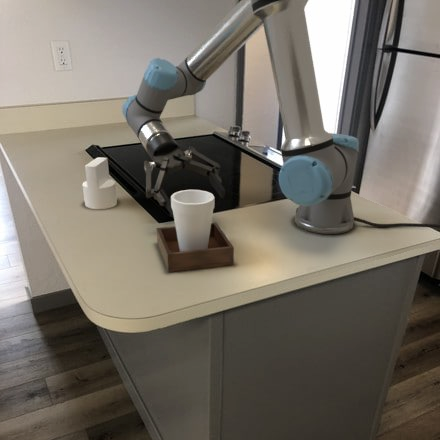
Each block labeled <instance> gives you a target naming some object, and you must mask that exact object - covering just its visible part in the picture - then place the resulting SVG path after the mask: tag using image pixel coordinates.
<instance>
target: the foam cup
mask: <svg viewBox="0 0 440 440" xmlns="http://www.w3.org/2000/svg"><path fill="white" fill-rule="evenodd" d="M215 198H216V197H215V196H214V194H213V193H212V192H209V191H207V190H201V189H185V190H179V191H176V192H174V193H172V194H171V195H170V201H171V208H172V210H173V215H174V216H173V219H174V226H175V227H176V233H177V238H178V244H179V249H180V252H181V251H191V250H200V249H208V243H209V236H210V229H211V223H213V215H214V209H215V201H216V200H215Z"/></svg>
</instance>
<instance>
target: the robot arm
mask: <svg viewBox="0 0 440 440" xmlns="http://www.w3.org/2000/svg"><path fill="white" fill-rule="evenodd" d="M308 2H309V0H240V1H239V2H238V3H237V4H236V5H235V6H234V7H233V8H232V9H231V10H230V11H229V12H228V13H227V14H226V15H225V16H224V18H222V20H221V21H220V22H219V23H218V24H217V25H216V26H215V27H214V28H213V29H212V30H211V31H210V32H209V33H208V34H207V35H206V36H205V37H204V39H203V40H202V41H200V43H198V45H196V47H195V48H194V49H193V50H192V51H191V52H190V53H189V54H188V55H187V57H186V58H184V59H183V60H182V62H180V63H179V64H178V65H175V64H173V63H172V62H170V61H168V60H167V59H165V58H163V59H162V58H160V57H156V58H153V59H151V60H150V61H149V64H148V65H147V68H146V69H145V71H144V74H143V77H142V79H141V82H140V85H139V87H138V90H137V93H136V94H133V95H131V96H129V97H128V98H127V100H126V101H124V103H123V104H122V115H123V117H124V118H125V120H126V123H127V125H128V126H129V127H130V128H131V130H132V132H134V134H135V136H136V137H137V139H138V140H139V142H140V143H141V145H142V147H143V148H144V149H145V151H146V152H147V155H148V156H149V158H150V159H151V161H148V160H144V161H143V171H144V173H145V197H146V198H147V199H151V198H152V197H153V199H154V200H156V201H157V202H158V203H159V206H161V207H165V208H166V210H167V212H168V213H169V214H170V216H171V218H174V215H173V210H172V208H171V198H169V196H168V195H167V193H166V191H165V190H164V189H163V185H164V182H165V179H166V177H167V174H170V175H172V174H174V173H175V172H180V171H183V170H184V171H185V172H187V171H190V172H193V173H195V174H199V175H201V176H205V177H207V178H208V182H209V183H210V184H211V186H212V187H213V188H214V190H215V191H216V193H217V195H218V196H219V197H220V199H224V198H225V196H226V189H225V187H224V186H223V184H222V178H221V177H220V175H219V174H220V170H221V164H219V163H218V162H216V161H214V160H213V159H211V158H210V157H207V156H206V155H205V154H202V153H201V152H199V151H197V150H196V149H195V148H194V146H192V145H189V146H188V149H187V150H185V151H183V150H182V149H181V148H180V146H179V145H178V142H177V141H176V140H175V138H174V137H173V136H172V135H171V133H170V131H169V129H167V127H166V126H165V125H164V123H163V121H162V119H161V115H162V113H163V112H164V110H165V107H166V106H167V103H168V101H170V100H175V99H178V98H183V97H187V96H194V95H196V94H197V93H201V91H203V90H204V89H205V86H206V85H207V84H206V83H207V80H209V78H211V77H212V76H213V75H214V74H215V73H216V72H217V71H218V70H219V69H220V68H221V67H222V66H223V65H225V63H227V62H228V60H230V59H231V58H232V56H234V55H235V54H236V53H237V52H238V51H240V50H241V48H242V47H243V46H244V45H245V44H247V43H248V41H250V40H251V38H253V37H254V36H255V35H256V34H257V33H258V32H259V31H260V30H261V29H262V28H263V30H264V36H265V40H266V45H267V50H268V55H269V62H270V66H271V71H272V77H273V81H274V87H275V91H276V97H277V102H278V107H279V112H280V117H281V123H282V128H283V133H284V138H285V140H284V142H283V144H282V145H281V146H280V153H281V158H282V163H283V164H282V166H281V168H280V170H279V173H278V185H279V188H280V190H281V192H282V194H283V195H284V196H285V198H287V199H288V200H289V201H291V202H292V203H293V204H296V205H298V207H297V208H296V210H295V217H294V223H295V224H296V225H297V226H298V227H299V228H300V229H303V230H305V231H307V232H310V233H313V234H314V233H315V234H321V235H339V234H345V233H347V232H350V231H351V230H353V228H354V224H355V222H358V223H362V224H365V225H368V226H370V227H375V228H401V227H402V228H404V227H405V228H406V227H407V228H435V229H437V228H438V229H440V224H438V223H414V222H413V223H409V222H408V223H407V222H400V223H399V222H398V223H375V222H372V221H369V220H366V219H363V218H359V217H355V216H354V215H355V214H354V210H353V204H352V198H351V196H352V192H353V191H352V190H353V185H354V178H355V172H356V168H357V167H356V166H357V160H358V154H359V152H360V150H359V145H360V142H359V139H358V138H357V137H355V136H352V135H347V134H342V133H341V134H340V133H331V132H328V131H326V130H325V126H324V121H323V113H322V108H321V102H320V101H321V100H320V96H319V89H318V85H317V78H316V72H315V66H314V60H313V53H312V47H311V41H310V36H309V30H308V29H309V28H308V23H307V18H306V12H305V11H306V10H305V8H306V6H307V4H308ZM154 168H155V169H157V170H159V173H158V176H157V177H156V181H155V184H154V187H153V188H152V173H153V171H154Z"/></svg>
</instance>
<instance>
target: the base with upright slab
mask: <svg viewBox="0 0 440 440" xmlns="http://www.w3.org/2000/svg"><path fill="white" fill-rule="evenodd" d="M109 169H110V168H109V161H108V157H98V156H97V157H96V158H94V159H93V160H91V161H90V162H88V163H87V164H85V165H84V170H85V178H86V180H85V181H83V182H82V192H83V199H84V206H85V207H86V208H88V209H91V210H106V209H110V208H113V207H115V206H117V204H118V199H117V198H118V197H117V191H116V190H117V188H116V181H115V180H114V179H112V178H110V171H109Z"/></svg>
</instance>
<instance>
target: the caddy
mask: <svg viewBox="0 0 440 440" xmlns="http://www.w3.org/2000/svg"><path fill="white" fill-rule="evenodd" d="M156 243H157V247H158V250H159V253H160V254H161V257H162V259H163V262H164V265H165V267H166V270H167V273H174V272H184V271H192V270H200V269H202V270H203V269H210V268H217V267H226V266H233V265H234V255H235V253H234V252H235V251H234V250H235V248H234V246H233V244H232V243H231V242H230V240H229V239H228V237H227V236H226V234H225V233H224V231H223V230H222V228H221V227H220V225H219V224H218V223H217V222H211V229H210V236H209V243H208V249H200V250H191V251H181V252H180V249H179V244H178V238H177V233H176V227H175V225H174V226H161V227H156Z"/></svg>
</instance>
